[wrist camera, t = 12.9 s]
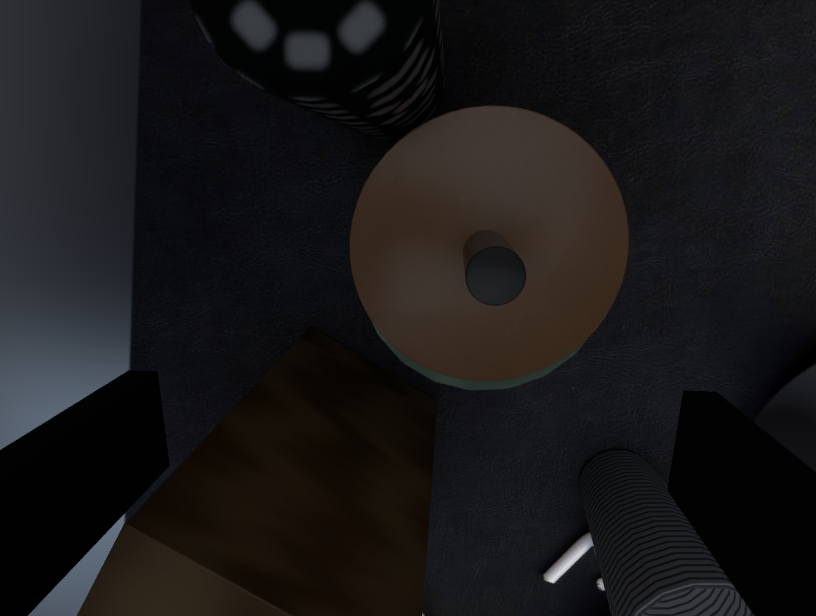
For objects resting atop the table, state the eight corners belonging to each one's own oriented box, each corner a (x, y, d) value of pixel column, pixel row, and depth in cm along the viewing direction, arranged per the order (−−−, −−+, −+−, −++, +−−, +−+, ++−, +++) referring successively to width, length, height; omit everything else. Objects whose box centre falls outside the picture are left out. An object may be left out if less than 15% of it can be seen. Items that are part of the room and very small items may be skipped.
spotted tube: (449, 12, 34) (442, -197, 15) (442, 142, 36) (429, 105, 17) (327, 10, 35) (172, -193, 16) (328, 137, 37) (191, 98, 18)
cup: (553, 445, 42) (609, 597, 27) (660, 424, 40) (782, 571, 25) (573, 532, 43) (636, 720, 29) (676, 514, 42) (798, 701, 27)
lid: (301, 279, 31) (253, 312, 23) (457, 43, 27) (459, -7, 19) (508, 424, 32) (524, 499, 24) (686, 220, 28) (770, 236, 20)
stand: (246, 438, 44) (16, 730, 21) (310, 326, 41) (124, 523, 18) (365, 506, 45) (271, 862, 22) (437, 401, 42) (417, 685, 18)
